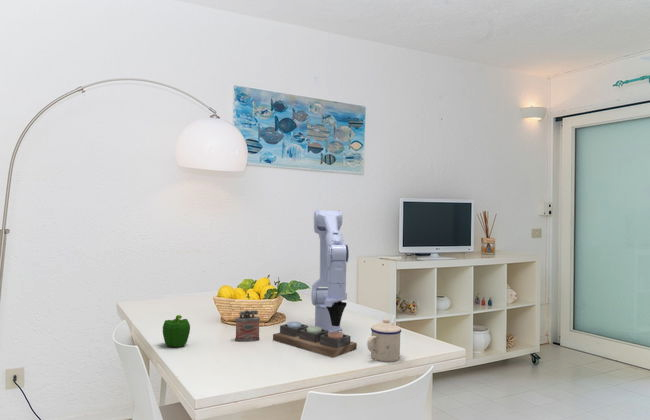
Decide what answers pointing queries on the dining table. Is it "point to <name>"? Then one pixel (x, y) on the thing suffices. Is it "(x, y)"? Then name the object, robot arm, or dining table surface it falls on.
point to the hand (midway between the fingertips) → (335, 325)
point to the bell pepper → (176, 331)
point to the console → (314, 341)
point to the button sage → (314, 329)
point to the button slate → (294, 324)
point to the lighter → (247, 326)
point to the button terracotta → (335, 335)
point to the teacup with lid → (385, 341)
